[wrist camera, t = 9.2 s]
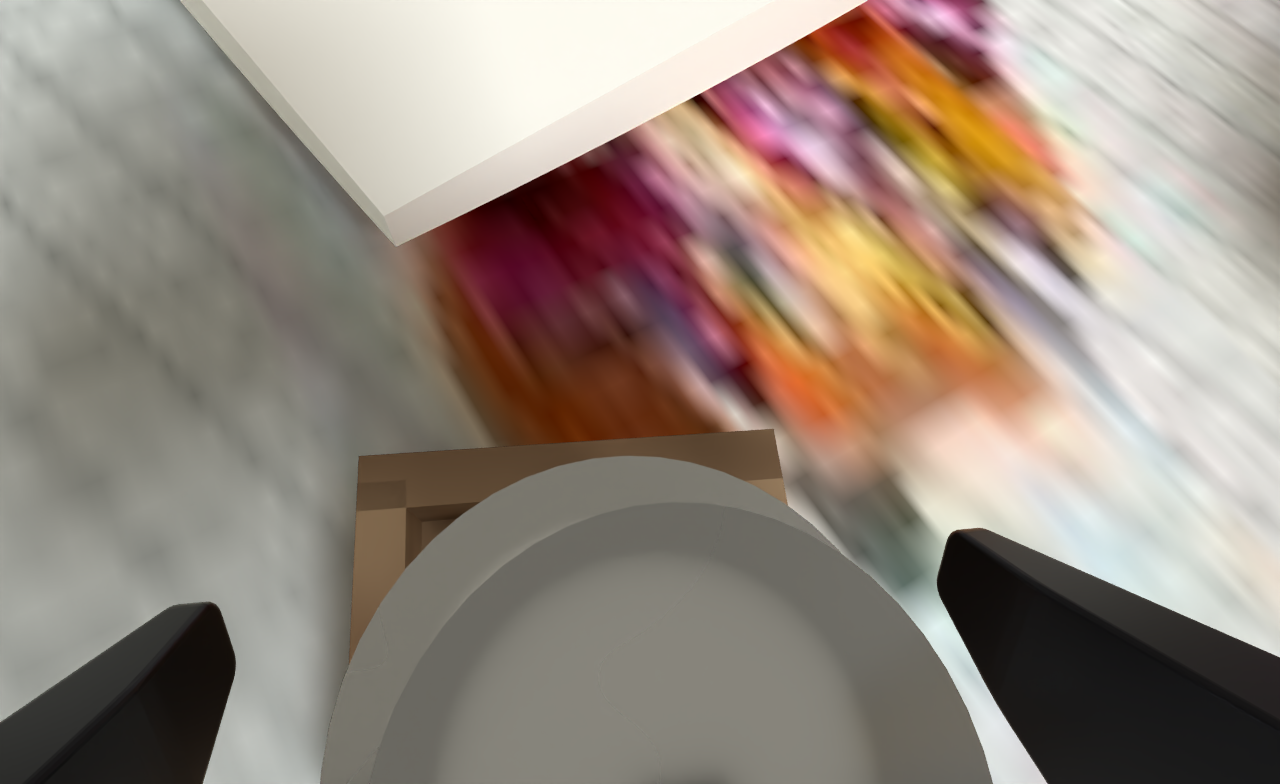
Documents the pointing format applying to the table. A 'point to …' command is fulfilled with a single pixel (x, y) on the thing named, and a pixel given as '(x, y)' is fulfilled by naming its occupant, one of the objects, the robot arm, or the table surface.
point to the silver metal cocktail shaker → (643, 648)
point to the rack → (460, 479)
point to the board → (483, 83)
